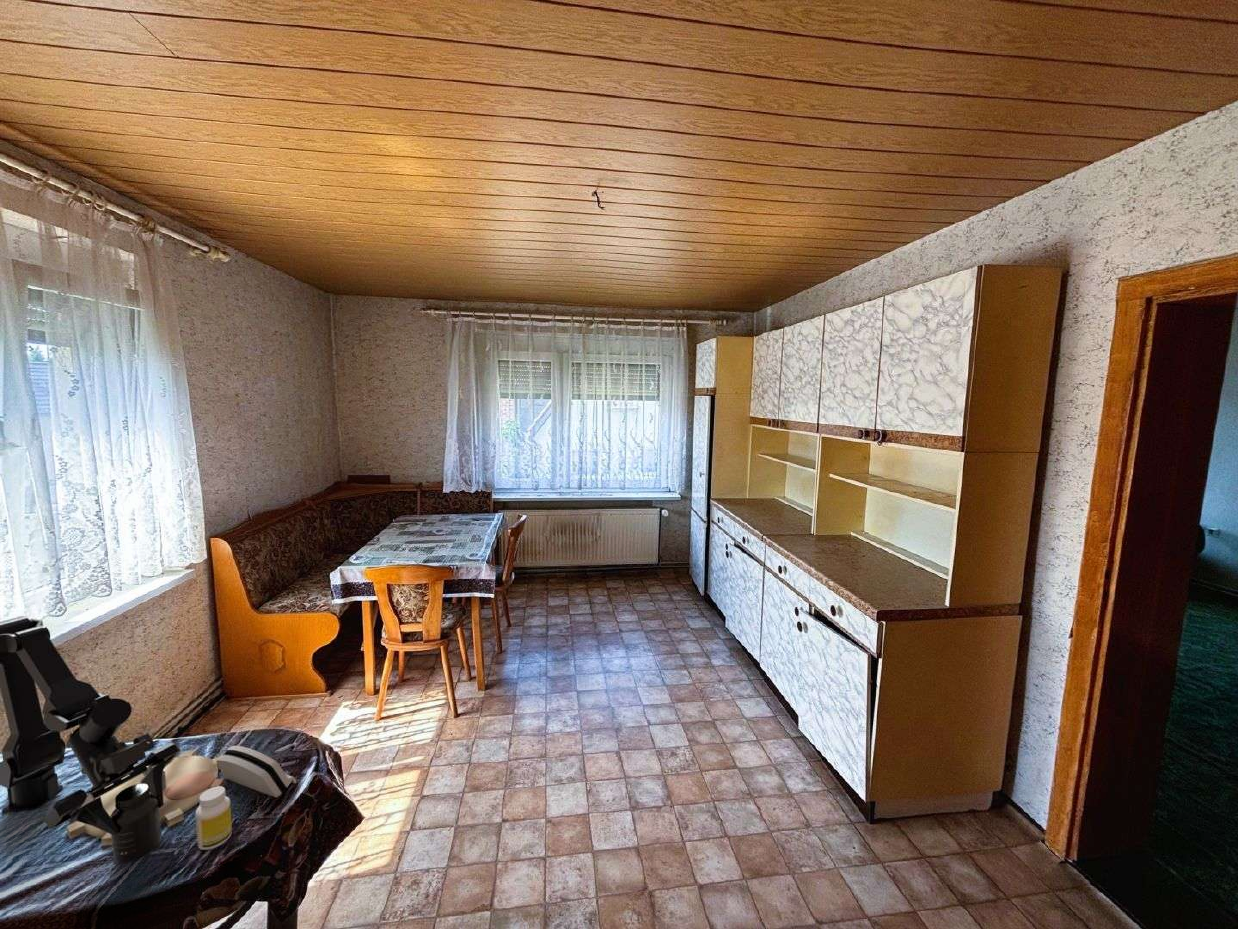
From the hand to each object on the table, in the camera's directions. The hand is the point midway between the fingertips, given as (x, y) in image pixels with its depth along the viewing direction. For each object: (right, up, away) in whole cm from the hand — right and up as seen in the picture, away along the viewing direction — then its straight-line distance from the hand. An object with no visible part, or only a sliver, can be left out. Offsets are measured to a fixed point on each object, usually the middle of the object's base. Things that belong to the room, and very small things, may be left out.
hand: (139, 819), depth 98 cm
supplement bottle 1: (-1, -7, +1) cm, 7 cm away
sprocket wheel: (-10, -5, +15) cm, 19 cm away
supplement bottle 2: (+11, -7, +4) cm, 14 cm away
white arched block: (+9, -5, +19) cm, 21 cm away
